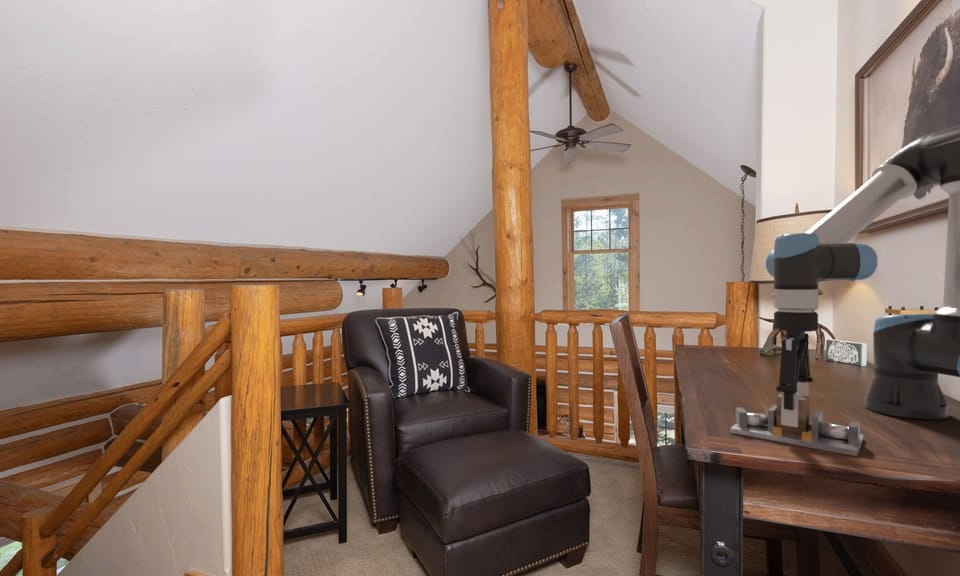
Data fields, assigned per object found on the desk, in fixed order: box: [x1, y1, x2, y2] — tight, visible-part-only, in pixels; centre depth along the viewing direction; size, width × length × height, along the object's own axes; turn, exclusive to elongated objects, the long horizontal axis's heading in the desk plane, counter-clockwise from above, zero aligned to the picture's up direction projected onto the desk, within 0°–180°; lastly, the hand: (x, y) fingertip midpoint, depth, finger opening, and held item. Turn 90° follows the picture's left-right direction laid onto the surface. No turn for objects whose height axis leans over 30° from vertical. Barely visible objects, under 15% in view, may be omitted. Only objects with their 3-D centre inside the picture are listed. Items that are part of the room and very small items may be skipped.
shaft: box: [735, 406, 768, 428], centre depth 105 cm, size 6×4×3 cm
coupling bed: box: [730, 403, 864, 457], centre depth 101 cm, size 21×12×5 cm, turn 48°
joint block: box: [776, 392, 810, 435], centre depth 101 cm, size 5×4×8 cm
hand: (795, 419), depth 101 cm, fingers open, 11 cm apart
